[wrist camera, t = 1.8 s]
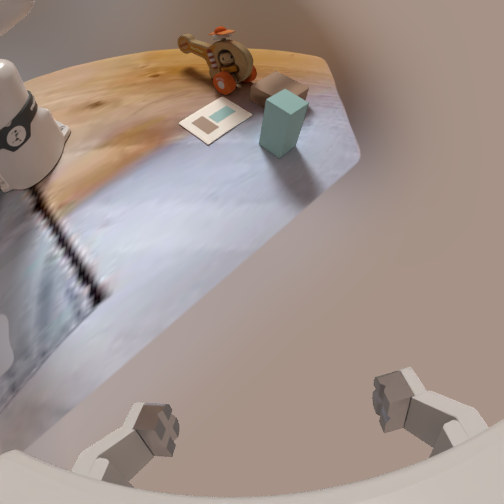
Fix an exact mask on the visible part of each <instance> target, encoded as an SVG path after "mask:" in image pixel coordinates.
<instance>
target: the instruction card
mask: <svg viewBox="0 0 504 504" xmlns="http://www.w3.org/2000/svg"><path fill="white" fill-rule="evenodd" d="M251 116H253V115H252V114H251V113H249V112H248V111H246V110H244V109H243V108H241V107H239V106H238V105H236V104H234V103H233V102H231V101H229V100H228V99H226V98H224V97H223V96H222V97H220V98H219V99H217V100H215V101H213V102H212V103H210V104H208V105H207V106H205V107H203V108H202V109H200V110H198V111H197V112H195V113H193V114H192V115H190V116H189V117H187V118H186V119H184V120H182V121H181V122H179V123H178V124H179V125H181V126H182V127H184V128H185V129H186V130H188V131H189V132H191V133H192V134H193V135H195V136H196V137H198V138H199V139H200V140H202V141H203V142H205V143H206V144H207V145H209V144H211V143H212V142H214V141H215V140H216V139H218V138H219V137H221V136H222V135H224V134H225V133H227V132H228V131H230V130H231V129H233V128H234V127H236V126H237V125H239V124H240V123H242V122H243V121H245V120H246V119H248V118H249V117H251Z"/></svg>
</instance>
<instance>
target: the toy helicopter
mask: <svg viewBox="0 0 504 504" xmlns="http://www.w3.org/2000/svg"><path fill="white" fill-rule="evenodd" d="M234 32H235V31H234V30H226V28H225V27H222V26H221V27H217V28H216V29H215V30H214V32H213V33H211V34H209V35H213V36H212V37H213V40H218V39H221V41H218V42H215V43H213V44H208V43H205V42H202V41H198V40H196V39H195V38H194V36H193V35H191V34H185V35H182V36H180V37H179V38H178V46H179V48H180V50H181V51H182V52H183V53H186V54H187V53H190V52H191V53H194V54H196V55H198V56H200V57H202V58H204V59H205V60H206V61H207V64H208V66H209V69H210V71H209V74H210V76H211V77H212V78H213V84H214V86H215V88H216V89H217V91H218V92H220V93H221V94H224V95H227V94H230V93H231V92H233V91H234V90H235V88H236V84H238V83H240V82H241V81H242V82H245V83H248V82H251V81H252V80H254V79H255V78H256V75H257V72H256V69H255V67H254V66H253V58H252V55H251V53H250V52H249V50H248V49H247V48H246V47H245V46H243V45H242V44H240V43H238V42H236V41H233V40H226V39H225V38H226V37H229V36H231V33H234Z"/></svg>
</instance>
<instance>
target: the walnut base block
mask: <svg viewBox="0 0 504 504" xmlns="http://www.w3.org/2000/svg"><path fill="white" fill-rule="evenodd" d="M284 89H286V90H288V91H290V92H292V93H293V94H295V95H297V96H298V97H300V98H302V99H303V100H306V96H307V93H308V89H309V88H308V87H306V86H305V85H303V84H301V83H299V82H297V81H295V80H293V79H291V78H289V77H287V76H285V75H283V74H281V73H279V72H277V71H275V72H273V73H272V74H270V75H268V76H266V77H265V78H263V79H261V80H259V81H258V82H256V83H254V84H253V85H251V91H250V100H251V101H253V102H255V103H257V104H258V105H260V106H262V107H264V108H265V103H266V99H268V98H270V97H271V96H273V95H275V94H277V93H278V92H280V91H282V90H284Z"/></svg>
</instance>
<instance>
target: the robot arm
mask: <svg viewBox="0 0 504 504" xmlns="http://www.w3.org/2000/svg"><path fill="white" fill-rule="evenodd" d="M34 2H35V0H0V36H2V35H3V34H5V33H6V32H7V31H8V30H9V29H11V28H12V27H13V26H14V25H15V24H17V23H18V22H19V21H20V20H21V19H23V18H24V17H25V16H26V15H28V13H29V12H30V11H31V9H32V7H33V5H34ZM70 132H71V130H70V128H69V127H68V126H66V125H64V124H62V123H60V122H58V121H56V120H55V119H54V118H53V116H52V114H51V113H50V111H49V110H48V109H45V108H43V107H38V106H37V103H36V101H35V98H34V96H33V95H32V94H31V92H30V91H28V90H26V88H25V86H24V84H23V82H22V79H21V77H20V75H19V73H18V71H17V69H16V67H15V65H14V64H13V63H12V62H10V61H8V60H5V59H0V186H1V190H2V191H3V192H8V191H10V190H12V189H18V190H22V189H26V188H29V187H31V186H33V185H35V184H36V183H38V182H39V181H40V180H42V179H43V178H44V177H45V176H46V175H47V174H48V173H49V172H50V171H51V170H52V169H53V167H54V166H55V165H56V163H57V162H58V160H59V158H60V156H61V154H62V151H63V147H64V143H65V141H66V139H67V137H68V136H69V134H70ZM374 386H375V388H376V389H375V391H374V392H373V398H372V399H373V406H374V409H375V412H376V414H378V415H379V416H380V420H379V422H380V425H381V427H382V429H383V432H384V433H387V432H390V431H394V430H397V429H400V428H404V429H406V430H407V431H409V432H410V433H412V434H413V435H415V436H416V437H418V438H419V439H421V440H422V441H424V442H425V443H427V444H428V445H430V446H431V447H433V450H432V453H431V455H430V457H429V458H428V459H425V460H423V461H420V462H418V463H415V464H413V465H410V466H407V467H404V468H401V469H399V470H396V471H393V472H390V473H386V474H383V475H380V476H377V477H373V478H370V479H366V480H362V481H358V482H354V483H350V484H345V485H341V486H336V487H331V488H326V489H320V490H314V491H308V492H301V493H293V494H284V495H273V496H257V497H204V496H188V495H178V494H169V493H162V492H155V491H148V490H142V489H137V488H134V487H133V486H132V485H131V484H130V483H129V482H128V481H129V480H130V479H132V478H133V477H134V476H135V475H136V474H137V473H138V472H139V471H140V470H141V469H142V468H143V467H144V466H145V465H146V464H147V463H148V462H149V461H150V460H151V459H152V458H153V457H154V456H165V457H166V456H167V457H172V456H173V452H174V449H175V443H174V440H175V439H176V438H177V437H178V435H179V423H178V420H177V418H176V417H175V416H174V415H172V414H171V412H172V409H171V407H170V405H169V404H157V403H155V404H154V403H135V404H133V406H132V408H131V410H130V412H129V414H128V416H127V418H126V420H125V422H124V424H123V426H122V428H118V429H116V430H115V431H114V432H112V433H110V434H109V435H107V436H106V437H104V438H103V439H101V440H100V441H98V442H97V443H95V444H94V445H92V446H90V447H89V448H87V449H86V450H84V451H82V452H81V454H80V455H79V457H78V459H77V461H76V463H75V465H74V467H73V468H72V470H71V471H68V470H66V469H63V468H60V467H57V466H55V465H52V464H50V463H47V462H44V461H42V460H40V459H37V458H35V457H33V456H30V455H28V454H26V453H24V452H22V451H20V450H11V451H8V452H5V453H3V454H1V455H0V504H504V419H503V420H501V421H499V422H498V423H496V424H495V425H493V426H491V427H490V428H488V426H487V425H486V423H485V422H484V420H483V419H482V417H481V416H480V414H479V413H478V411H477V410H476V409H475V408H473V407H470V406H468V405H465V404H463V403H460V402H457V401H455V400H453V399H450V398H447V397H445V396H442V395H440V394H438V393H435V392H433V391H427V390H426V389H425V388H424V386H423V384H422V383H421V381H420V380H419V378H418V377H417V375H416V374H415V372H414V371H413V369H412V368H411V367H408V368H404V369H401V370H398V371H395V372H392V373H389V374H385V375H382V376H378V377H375V379H374Z"/></svg>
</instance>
